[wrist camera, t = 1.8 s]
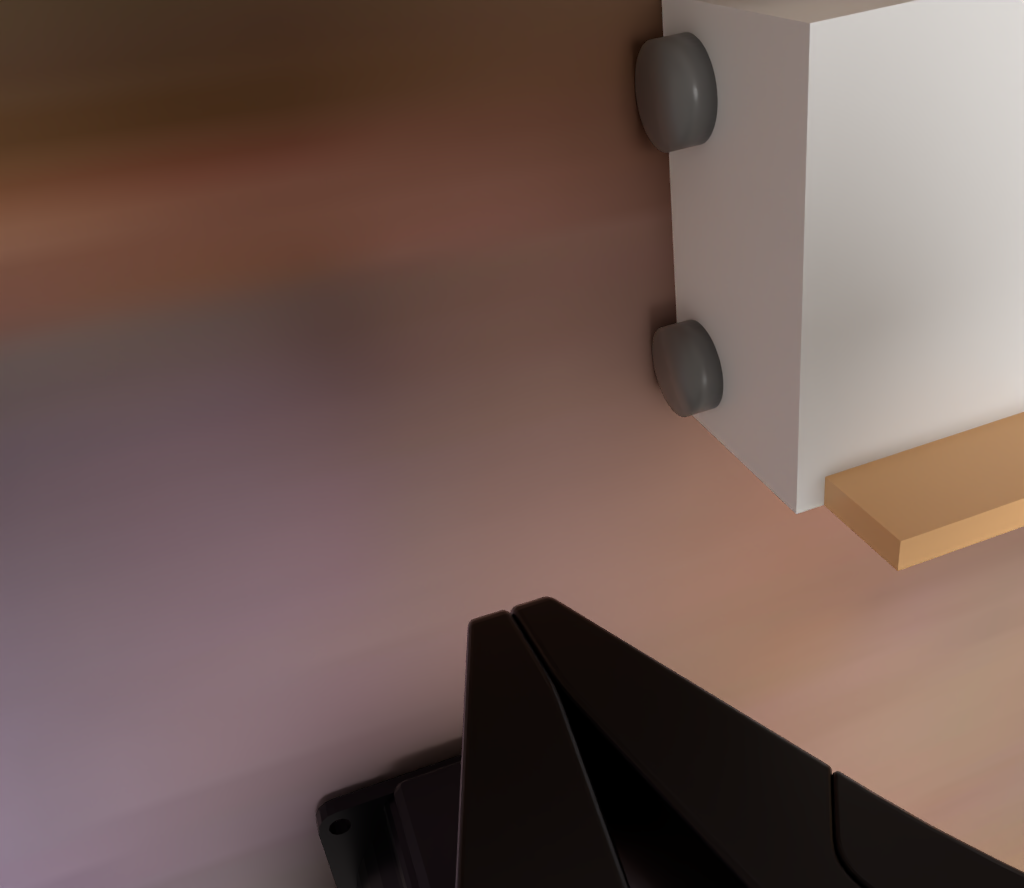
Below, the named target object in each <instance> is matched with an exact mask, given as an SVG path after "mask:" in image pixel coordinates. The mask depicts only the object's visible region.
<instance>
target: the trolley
mask: <svg viewBox="0 0 1024 888" xmlns="http://www.w3.org/2000/svg"><path fill="white" fill-rule="evenodd" d="M662 18H663V37H660V38H655V39H650V40H648V41H646V42H645V43H644V44H643V46H642V47H641V49H640V51H639V54H638V58H637V62H636V70H635V90H636V99H637V105H638V110H639V114H640V118H641V121H642V124H643V127H644V129H645V131H646V134H647V136H648V137H649V139H650V141H651V142H652V144H653V145H654V146H655V147H656V148H657V149H658V150H660V151H661V152H664V153H668V152H669V167H670V188H671V209H672V231H673V252H674V273H675V294H676V316H677V323H675V324H671V325H668V326H664V327H661V328H659V329H657V331H656V332H655V334H654V337H653V343H652V356H653V364H654V369H655V374H656V377H657V381H658V384H659V386H660V389H661V391H662V394H663V396H664V398H665V399H666V401H667V403H668V404H669V406H670V407H671V409H672V410H673V411H674V412H675V413H676V414H677V415H679V416H681V417H687V416H690V415H692V416H693V417H694V418H696V419H697V420H698V421H699V422H700V423H701V424H702V425H703V426H704V427H705V428H706V429H707V430H708V431H709V432H710V433H711V434H712V435H713V436H714V437H716V438H717V439H718V440H719V441H720V442H721V443H722V444H723V445H724V446H725V447H726V448H727V449H728V450H729V451H730V452H731V453H732V454H733V455H735V456H736V457H737V458H738V459H739V460H740V461H741V462H742V463H743V464H744V465H745V466H746V467H747V468H748V469H749V470H750V471H751V472H752V473H753V474H755V475H756V476H757V477H758V478H759V479H760V480H761V481H762V482H763V483H764V484H765V485H766V486H767V487H768V488H769V489H770V490H771V491H772V492H774V493H775V494H776V495H777V496H778V497H779V498H780V499H781V500H782V501H783V502H784V503H785V504H786V505H787V506H788V507H789V508H790V509H791V510H792V511H794V512H795V513H796V514H798V513H801V512H804V511H807V510H810V509H813V508H816V507H819V506H822V505H825V506H826V507H827V508H828V509H829V510H830V511H831V512H832V513H833V514H835V515H836V516H837V517H838V518H839V519H840V520H841V521H842V522H843V523H845V524H846V525H847V526H848V527H849V528H850V529H851V530H852V531H854V532H855V533H856V534H857V535H858V536H859V537H860V538H861V539H862V540H864V541H865V542H866V543H867V544H868V545H869V546H870V547H871V548H872V549H874V550H875V551H876V552H877V553H878V554H879V555H880V556H881V557H883V558H884V559H885V560H886V561H887V562H888V563H889V564H890V565H891V566H893V567H894V568H895V569H896V570H897V571H899V570H902V569H905V568H908V567H911V566H913V565H916V564H919V563H922V562H925V561H927V560H930V559H933V558H936V557H939V556H941V555H944V554H947V553H950V552H953V551H955V550H958V549H961V548H964V547H967V546H969V545H972V544H975V543H978V542H981V541H984V540H986V539H989V538H992V537H995V536H998V535H1000V534H1003V533H1006V532H1009V531H1012V530H1014V529H1017V528H1020V527H1023V526H1024V0H662Z"/></svg>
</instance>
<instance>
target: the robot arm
mask: <svg viewBox="0 0 1024 888" xmlns="http://www.w3.org/2000/svg"><path fill="white" fill-rule="evenodd" d="M338 819H341V820H338ZM336 820H337V821H336ZM316 822H317V827H318V833H319V836H320V839H321V842H322V845H323V848H324V851H325V854H326V857H327V860H328V862H329V865H330V868H331V871H332V874H333V877H334V880H335V883H336V886H337V888H1024V872H1022V871H1020V870H1018V869H1016V868H1014V867H1012V866H1010V865H1008V864H1006V863H1004V862H1002V861H1000V860H997V859H995V858H994V857H992V856H990V855H988V854H986V853H984V852H982V851H980V850H978V849H976V848H974V847H972V846H970V845H968V844H966V843H964V842H962V841H961V840H959V839H957V838H955V837H953V836H951V835H949V834H947V833H945V832H943V831H941V830H939V829H937V828H935V827H933V826H931V825H930V824H928V823H926V822H924V821H923V820H921V819H919V818H917V817H916V816H914V815H912V814H910V813H909V812H907V811H905V810H904V809H902V808H900V807H898V806H897V805H895V804H893V803H891V802H890V801H888V800H886V799H884V798H883V797H881V796H879V795H877V794H876V793H874V792H872V791H871V790H869V789H867V788H866V787H864V786H862V785H861V784H859V783H857V782H856V781H854V780H853V779H851V778H849V777H848V776H846V775H844V774H843V773H841V772H839V771H836V772H834V773H833V774H832V769H831V767H830V766H829V765H827V764H826V763H824V762H822V761H821V760H819V759H817V758H816V757H814V756H812V755H811V754H809V753H807V752H806V751H804V750H803V749H801V748H799V747H798V746H796V745H794V744H793V743H791V742H789V741H788V740H786V739H784V738H783V737H781V736H779V735H778V734H776V733H775V732H773V731H771V730H770V729H768V728H766V727H765V726H763V725H761V724H760V723H758V722H756V721H755V720H753V719H751V718H750V717H748V716H747V715H745V714H743V713H742V712H740V711H738V710H737V709H735V708H733V707H732V706H730V705H728V704H727V703H725V702H724V701H722V700H720V699H719V698H717V697H715V696H714V695H712V694H710V693H709V692H707V691H705V690H704V689H702V688H700V687H699V686H697V685H696V684H694V683H692V682H691V681H689V680H687V679H686V678H684V677H682V676H681V675H679V674H677V673H676V672H674V671H673V670H671V669H669V668H668V667H666V666H664V665H663V664H661V663H659V662H658V661H656V660H654V659H653V658H651V657H649V656H648V655H646V654H645V653H643V652H641V651H640V650H638V649H636V648H635V647H633V646H631V645H630V644H628V643H626V642H625V641H623V640H622V639H620V638H618V637H617V636H615V635H613V634H612V633H610V632H608V631H607V630H605V629H603V628H602V627H600V626H598V625H597V624H595V623H594V622H592V621H590V620H589V619H587V618H585V617H584V616H582V615H580V614H579V613H577V612H575V611H574V610H572V609H571V608H569V607H567V606H566V605H564V604H562V603H561V602H559V601H557V600H556V599H554V598H551V597H542V598H539V599H536V600H532V601H529V602H526V603H523V604H520V605H516V606H515V607H513V609H512V610H511V613H509V612H508V611H505V610H501V611H497V612H494V613H491V614H488V615H485V616H481V617H478V618H475V619H473V620H471V621H470V622H469V625H468V633H467V654H466V675H465V696H464V717H463V738H462V755H460V756H457V757H454V758H451V759H448V760H445V761H442V762H439V763H436V764H434V765H431V766H428V767H425V768H422V769H419V770H416V771H413V772H410V773H407V774H404V775H402V776H399V777H396V778H393V779H390V780H387V781H384V782H381V783H378V784H375V785H373V786H370V787H367V788H364V789H361V790H358V791H355V792H352V793H349V794H346V795H344V796H341V797H338V798H335V799H332V800H330V801H328V802H326V803H325V804H323V805H322V806H321V807H320V808H319V810H318V812H317V814H316Z"/></svg>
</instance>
